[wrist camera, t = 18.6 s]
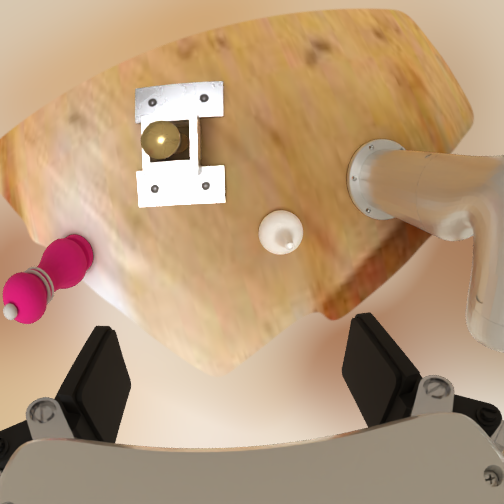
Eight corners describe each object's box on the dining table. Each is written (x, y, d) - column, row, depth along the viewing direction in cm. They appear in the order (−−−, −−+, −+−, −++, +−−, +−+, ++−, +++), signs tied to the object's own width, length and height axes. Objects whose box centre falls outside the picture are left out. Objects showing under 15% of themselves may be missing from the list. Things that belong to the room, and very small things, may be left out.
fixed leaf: (222, 82, 36) (223, 75, 32) (223, 162, 39) (224, 163, 36) (137, 90, 35) (129, 84, 31) (138, 168, 38) (130, 169, 35)
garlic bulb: (271, 200, 42) (277, 208, 35) (308, 222, 43) (321, 233, 36) (250, 238, 44) (251, 253, 36) (287, 258, 45) (295, 277, 37)
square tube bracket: (223, 118, 37) (223, 110, 29) (225, 201, 41) (225, 213, 33) (136, 125, 36) (117, 120, 28) (140, 206, 40) (123, 218, 32)
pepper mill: (55, 233, 40) (-24, 284, 21) (91, 228, 40) (17, 283, 21) (64, 275, 42) (-2, 341, 23) (100, 273, 43) (40, 346, 24)
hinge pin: (192, 128, 37) (178, 118, 25) (192, 155, 39) (179, 157, 27) (164, 130, 37) (140, 122, 25) (165, 157, 38) (141, 160, 26)
